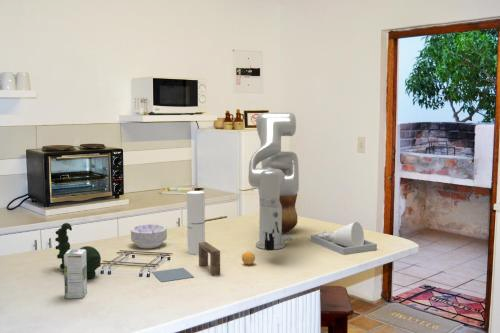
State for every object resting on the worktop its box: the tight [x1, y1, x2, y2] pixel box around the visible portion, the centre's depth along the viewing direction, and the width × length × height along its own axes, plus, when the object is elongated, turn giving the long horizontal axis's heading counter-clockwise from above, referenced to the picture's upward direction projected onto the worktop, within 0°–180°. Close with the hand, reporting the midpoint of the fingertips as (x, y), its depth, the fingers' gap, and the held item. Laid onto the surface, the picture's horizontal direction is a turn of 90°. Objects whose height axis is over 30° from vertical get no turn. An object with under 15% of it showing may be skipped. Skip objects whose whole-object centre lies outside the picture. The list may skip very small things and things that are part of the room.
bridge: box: [198, 241, 221, 277], centre depth 197 cm, size 3×14×9 cm, turn 26°
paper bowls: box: [130, 223, 168, 250], centre depth 231 cm, size 15×15×8 cm
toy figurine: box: [54, 222, 102, 280], centre depth 191 cm, size 9×19×25 cm
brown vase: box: [279, 193, 298, 233], centre depth 256 cm, size 14×13×25 cm
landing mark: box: [151, 267, 195, 283], centre depth 192 cm, size 12×12×1 cm
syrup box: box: [63, 248, 88, 300], centre depth 170 cm, size 6×6×14 cm
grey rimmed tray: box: [309, 232, 378, 256], centre depth 233 cm, size 17×25×2 cm
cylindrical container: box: [186, 190, 206, 255], centre depth 221 cm, size 7×7×25 cm
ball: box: [241, 250, 256, 266], centre depth 204 cm, size 5×5×5 cm
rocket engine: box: [318, 221, 365, 248], centre depth 232 cm, size 12×12×18 cm
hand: (269, 249), depth 207 cm, fingers closed
